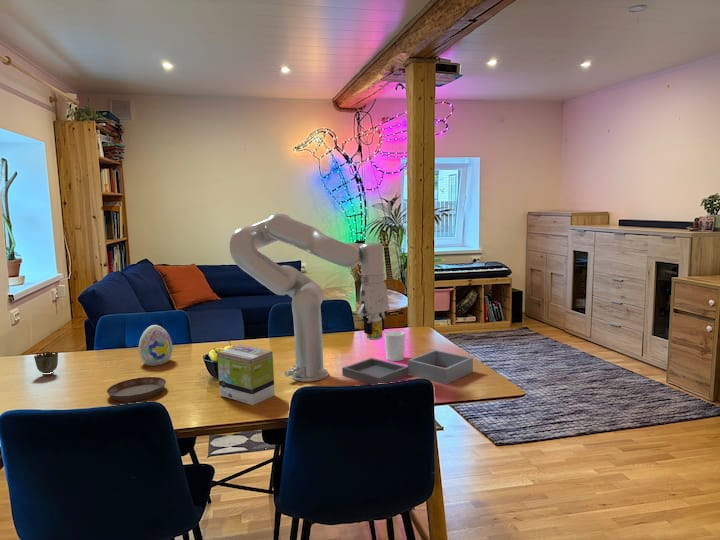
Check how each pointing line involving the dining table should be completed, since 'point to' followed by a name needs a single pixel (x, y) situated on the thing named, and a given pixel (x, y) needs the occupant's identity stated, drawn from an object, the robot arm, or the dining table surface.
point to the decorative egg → (155, 346)
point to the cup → (46, 362)
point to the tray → (375, 371)
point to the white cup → (394, 345)
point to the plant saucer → (136, 389)
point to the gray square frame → (453, 362)
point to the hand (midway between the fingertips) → (374, 331)
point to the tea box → (246, 374)
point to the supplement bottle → (375, 327)
